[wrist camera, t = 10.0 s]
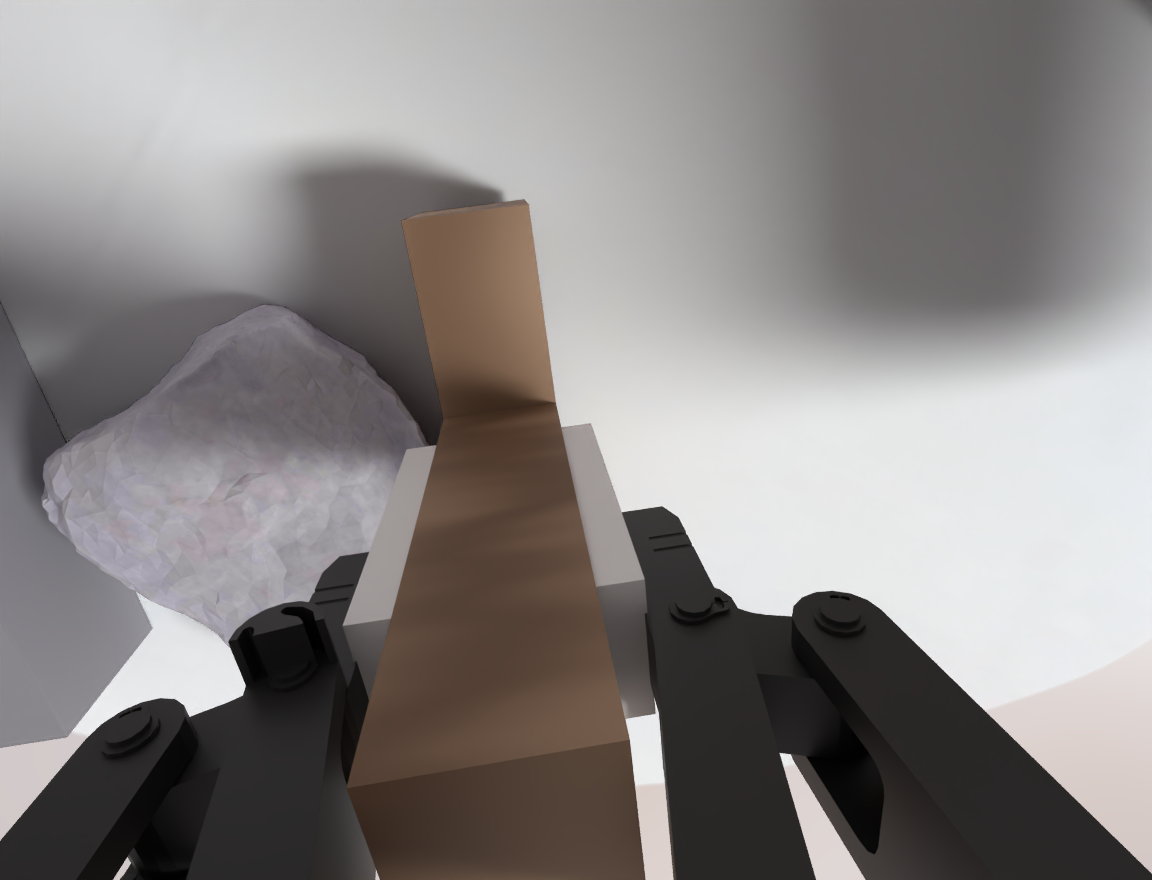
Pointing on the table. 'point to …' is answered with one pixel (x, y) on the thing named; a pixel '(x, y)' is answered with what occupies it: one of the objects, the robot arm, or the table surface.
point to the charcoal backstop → (48, 581)
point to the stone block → (236, 471)
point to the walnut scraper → (494, 605)
